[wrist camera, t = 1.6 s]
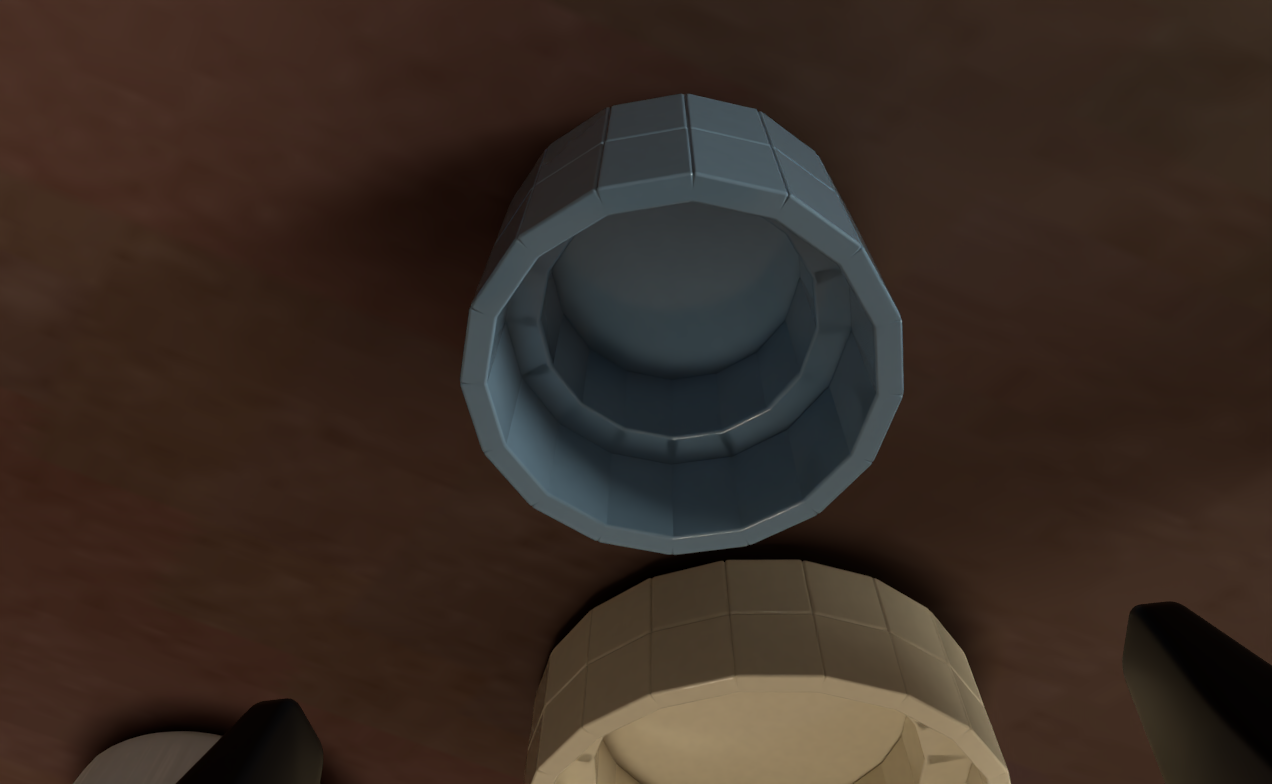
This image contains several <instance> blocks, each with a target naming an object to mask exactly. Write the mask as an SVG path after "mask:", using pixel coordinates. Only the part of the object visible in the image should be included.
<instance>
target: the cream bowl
mask: <svg viewBox="0 0 1272 784" xmlns="http://www.w3.org/2000/svg"><path fill="white" fill-rule="evenodd" d="M523 784H1011V780H1010V775H1009V771H1008V769H1007V766H1006V763H1005V761H1004V758H1003V755H1002V752H1001V750H1000V747H999V744H998V742H997V739H996V736H995V734H994V731H993V728H992V726H991V723H990V720H989V718H988V715H987V712H986V711H985V707H984V704H983V701H982V699H981V696H980V693H979V691H978V688H977V685H976V683H975V680H974V677H973V675H972V672H971V669H970V667H969V664H968V661H967V659H966V656H965V653H964V652H963V650H962V649H961V648H960V647H959V645H958V644H957V643H956V642H955V640H954V639H953V638H952V637H951V635H950V634H949V633H948V632H947V630H946V629H945V628H944V627H943V625H942V624H941V623H940V622H939V620H938V619H937V618H936V617H935V616H934V614H933V613H932V612H931V611H929V609H928V608H926V607H925V606H923V605H921V604H919V603H918V602H916V601H914V600H913V599H911V598H909V597H907V596H906V595H904V594H902V593H901V592H899V591H897V590H895V589H894V588H892V587H890V586H888V585H887V584H885V583H883V582H882V581H880V580H878V579H876V578H872V577H870V576H867V575H863V574H858V573H854V572H850V571H846V570H842V569H838V568H834V567H830V566H826V565H822V564H818V563H814V562H810V561H801V560H799V559H784V560H726V561H725V562H724V561H717V562H713V563H709V564H705V565H701V566H697V567H692V568H688V569H684V570H680V571H676V572H672V573H668V574H663V575H659V576H655V577H653V578H648V579H647V580H645V581H643V582H641V583H639V584H637V585H635V586H634V587H632V588H630V589H628V590H626V591H624V592H622V593H621V594H619V595H617V596H615V597H613V598H611V599H609V600H608V601H606V602H604V603H602V604H600V605H598V606H597V607H595V608H593V609H592V610H590V611H589V612H588V613H587V614H586V615H585V616H584V617H583V619H582V620H581V621H580V622H579V623H578V624H577V625H576V626H575V627H574V628H573V629H572V630H571V631H570V632H569V633H568V634H567V635H566V636H565V638H564V639H563V640H562V641H561V642H560V643H559V644H558V645H557V646H556V647H555V648H554V649H553V651H552V653H551V654H550V657H549V660H548V663H547V665H546V668H545V671H544V673H543V676H542V679H541V682H540V684H539V687H538V690H537V693H536V695H535V702H534V709H533V716H532V724H531V731H530V738H529V745H528V753H527V760H526V767H525V774H524V781H523Z"/></svg>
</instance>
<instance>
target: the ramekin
mask: <svg viewBox="0 0 1272 784" xmlns="http://www.w3.org/2000/svg"><path fill="white" fill-rule="evenodd" d="M221 737H222V736H221V735H216V734H210V733H202V732H192V731H173V732H159V733H152V734H147V735H142V736H138V737H135V738H132V739H128V740H126V741H123V742H121V743H118V744H116V745H114V746H111V747H110V748H108V749H107V750H105V751H104V752H102V753H100V754H99V755H97V756H96V757H95V758H94V759H93V760H92V762H91V763H89V764H88V766H87V767H86V768H85V769H84V770H83V771H82V773H81V774H80V775H79V776H78V778H77V779H76V780H75V782H74V783H73V784H176V783H177V782H178V781H179V780H180V779H181V778H182V777H183V776H184V775H185V774H186V773H187V772H188V771H189V770H190V769H191V768H192V767H193V765H194V764H195V763H196V762H197V761H198V760H199V759H200V758H201V757H202V756H203V755H204V754H205V753H206V752H207V751H208V750H209V749H210V748H211V747H212V746H213V745H214V744H215V743H216V742H217V741H218V740H219V739H220V738H221Z"/></svg>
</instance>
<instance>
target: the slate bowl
mask: <svg viewBox="0 0 1272 784" xmlns="http://www.w3.org/2000/svg"><path fill="white" fill-rule="evenodd" d="M460 382H461V383H460V386H461V389H462V392H463V395H464V398H465V401H466V404H467V407H468V410H469V413H470V416H471V419H472V422H473V425H474V428H475V431H476V434H477V437H478V440H479V443H480V446H481V449H482V451H484V454H485V456H486V457H487V458H488V459H489V460H490V461H491V462H492V463H493V465H494V466H495V467H496V468H497V469H498V470H499V471H500V472H501V473H502V475H503V476H504V477H505V478H506V479H507V480H508V481H509V482H510V484H511V485H512V486H513V487H514V488H515V489H516V490H517V491H518V492H519V494H520V495H521V496H522V497H523V498H524V499H525V500H526V501H527V503H528V504H529V505H531V506H533V508H534V509H536V510H538V511H540V512H542V513H544V514H546V515H548V516H549V517H551V518H553V519H555V520H557V521H559V522H561V523H563V524H564V525H566V526H568V527H570V528H572V529H574V530H576V531H578V532H580V533H581V534H583V535H585V536H587V537H589V538H591V539H593V540H595V541H597V540H598V542H601V543H606V544H612V545H617V546H623V547H629V548H634V549H640V550H646V551H651V552H657V553H662V554H668V555H671V554H672V553H673V555H679V554H687V553H695V552H703V551H712V550H720V549H728V548H737V547H745V546H747V545H752V544H754V543H756V542H759V541H761V540H763V539H765V538H768V537H770V536H772V535H774V534H776V533H779V532H781V531H783V530H785V529H788V528H790V527H792V526H794V525H796V524H799V523H801V522H803V521H805V520H808V519H810V518H812V517H814V516H816V515H817V513H821V512H822V511H823V510H824V509H825V508H826V507H827V506H828V505H829V504H830V503H831V502H832V501H833V500H834V499H835V498H836V497H837V496H839V495H840V494H841V493H842V492H843V491H844V490H845V489H846V488H847V487H848V486H849V485H850V484H851V483H852V482H853V481H854V480H855V479H857V478H858V477H859V476H860V475H861V474H862V473H863V472H864V471H865V470H866V469H867V468H868V467H869V466H870V465H871V464H872V462H873V461H874V459H875V457H876V455H877V453H878V451H879V448H880V446H881V444H882V442H883V440H884V437H885V435H886V433H887V431H888V428H889V426H890V424H891V422H892V420H893V417H894V415H895V413H896V411H897V408H898V406H899V404H900V402H901V400H902V397H903V393H904V372H903V330H902V319H901V315H900V313H899V311H898V309H897V307H896V305H895V303H894V301H893V299H892V297H891V295H890V293H889V291H888V289H887V287H886V285H885V283H884V281H883V279H882V277H881V275H880V273H879V271H878V269H877V267H876V265H875V263H874V261H873V259H872V257H871V255H870V253H869V251H868V249H867V247H866V245H865V243H864V241H863V239H862V237H861V235H860V233H859V231H858V229H857V227H856V225H855V223H854V221H853V219H852V217H851V215H850V213H849V211H848V209H847V207H846V205H845V203H844V202H843V200H842V198H841V196H840V194H839V192H838V190H837V189H836V187H835V185H834V183H833V181H832V179H831V177H830V176H829V174H828V172H827V170H826V168H825V166H824V164H823V163H822V161H821V159H820V157H819V156H818V155H817V154H816V153H815V151H814V150H812V149H811V148H810V147H808V146H807V145H805V144H804V143H803V142H801V141H800V140H799V139H797V138H796V137H795V136H793V135H792V134H791V133H789V132H788V131H787V130H785V129H784V128H783V127H781V126H780V125H779V124H777V123H776V122H775V121H773V120H772V119H771V118H769V117H768V116H767V115H765V114H764V113H763V112H760V111H759V112H758V111H757V110H756V109H753V108H748V107H744V106H740V105H735V104H731V103H727V102H722V101H718V100H714V99H709V98H705V97H701V96H696V95H692V94H685V96H684V94H676V95H670V96H665V97H659V98H653V99H648V100H642V101H636V102H631V103H625V104H620V105H614V106H612V107H610V108H609V107H607V108H605V109H604V110H602V111H601V112H599V113H597V114H596V115H594V116H593V117H591V118H590V119H588V120H587V121H585V122H584V123H582V124H581V125H579V126H578V127H576V128H574V129H573V130H571V131H570V132H568V133H567V134H565V135H564V136H562V137H561V138H559V139H558V140H556V141H555V142H553V143H551V144H550V145H549V146H548V148H547V149H546V150H544V152H543V153H542V155H541V156H540V158H539V159H538V161H537V162H536V164H535V166H534V167H533V169H532V170H531V172H530V173H529V175H528V176H527V178H526V179H525V181H524V182H523V184H522V186H521V187H520V189H519V190H518V192H517V193H516V195H515V196H514V198H513V199H512V201H511V203H510V205H509V208H508V210H507V213H506V215H505V218H504V221H503V223H502V226H501V228H500V231H499V234H498V236H497V239H496V241H495V244H494V246H493V249H492V251H491V254H490V256H489V259H488V261H487V264H486V267H485V269H484V272H483V274H482V277H481V280H480V282H479V285H478V287H477V290H476V292H475V295H474V298H473V300H472V303H471V306H470V308H469V313H468V320H467V328H466V335H465V343H464V350H463V358H462V365H461V373H460Z"/></svg>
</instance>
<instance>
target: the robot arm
mask: <svg viewBox="0 0 1272 784" xmlns="http://www.w3.org/2000/svg"><path fill="white" fill-rule="evenodd" d="M1122 662H1123V672H1124V676H1125V680H1126V683H1127V686H1128V688H1129V691H1130V694H1131V696H1132V699H1133V701H1134V704H1135V706H1136V709H1137V712H1138V714H1139V717H1140V719H1141V722H1142V724H1143V727H1144V730H1145V732H1146V735H1147V737H1148V740H1149V743H1150V745H1151V748H1152V750H1153V753H1154V755H1155V758H1156V761H1157V763H1158V766H1159V768H1160V771H1161V773H1162V776H1163V779H1164V781H1165V784H1272V665H1270V664H1269V663H1267V662H1266V661H1264V660H1263V659H1261V658H1260V657H1258V656H1257V655H1255V654H1254V653H1252V652H1251V651H1250V650H1248V649H1247V648H1245V647H1244V646H1242V645H1241V644H1239V643H1238V642H1236V641H1235V640H1233V639H1232V638H1230V637H1229V636H1228V635H1226V634H1225V633H1223V632H1222V631H1220V630H1219V629H1217V628H1216V627H1214V626H1213V625H1211V624H1210V623H1208V622H1207V621H1205V620H1204V619H1203V618H1201V617H1200V616H1198V615H1197V614H1195V613H1194V612H1192V611H1191V610H1189V609H1188V608H1186V607H1185V606H1183V605H1181V604H1179V603H1176V602H1159V603H1150V604H1141V605H1137V606H1135V607H1134V608H1133V609H1132V610H1131V612H1130V615H1129V620H1128V626H1127V633H1126V639H1125V646H1124V652H1123V661H1122ZM322 768H323V749H322V746H321V743H320V740H319V738H318V737H317V735H316V733H315V731H314V730H313V728H312V726H311V725H310V723H309V721H308V719H307V718H306V716H305V714H304V712H303V711H302V709H301V707H300V706H299V704H298V703H297V702H296V701H294V700H292V699H279V700H270V701H262V702H259V703H257V704H255V705H254V706H252V707H251V708H250V709H249V710H248V711H247V712H246V713H245V714H244V715H243V716H242V717H241V718H240V719H239V720H238V721H237V722H236V723H235V724H234V725H233V726H232V727H231V728H230V729H229V730H228V731H227V732H226V733H225V734H224V735H223V736H222V737H221V738H220V739H219V740H218V741H217V742H216V743H215V744H214V745H213V746H212V747H211V748H210V749H209V750H208V751H207V752H206V753H205V754H204V755H203V756H202V757H201V758H200V759H199V760H198V761H197V762H196V763H195V764H194V765H193V767H192V768H191V769H190V770H189V771H188V772H187V773H186V774H185V775H184V776H183V777H182V778H181V779H180V780H179V781H178V782H177V783H176V784H320V780H321V774H322Z"/></svg>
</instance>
